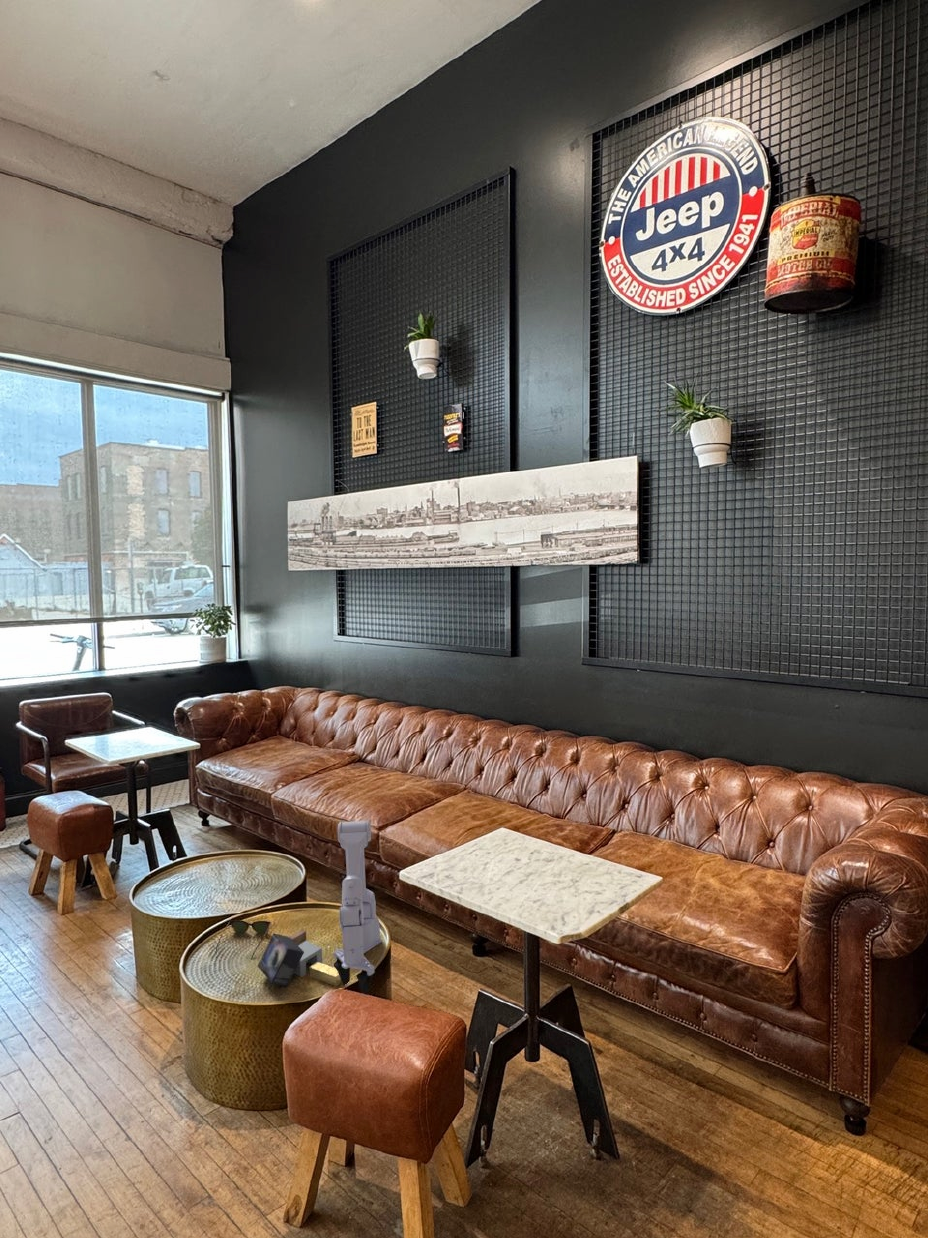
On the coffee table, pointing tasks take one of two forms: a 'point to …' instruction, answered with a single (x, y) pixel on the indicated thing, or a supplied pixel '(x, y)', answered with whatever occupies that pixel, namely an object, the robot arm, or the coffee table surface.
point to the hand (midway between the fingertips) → (355, 988)
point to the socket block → (308, 957)
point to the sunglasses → (243, 927)
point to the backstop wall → (299, 937)
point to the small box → (280, 959)
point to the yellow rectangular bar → (325, 973)
